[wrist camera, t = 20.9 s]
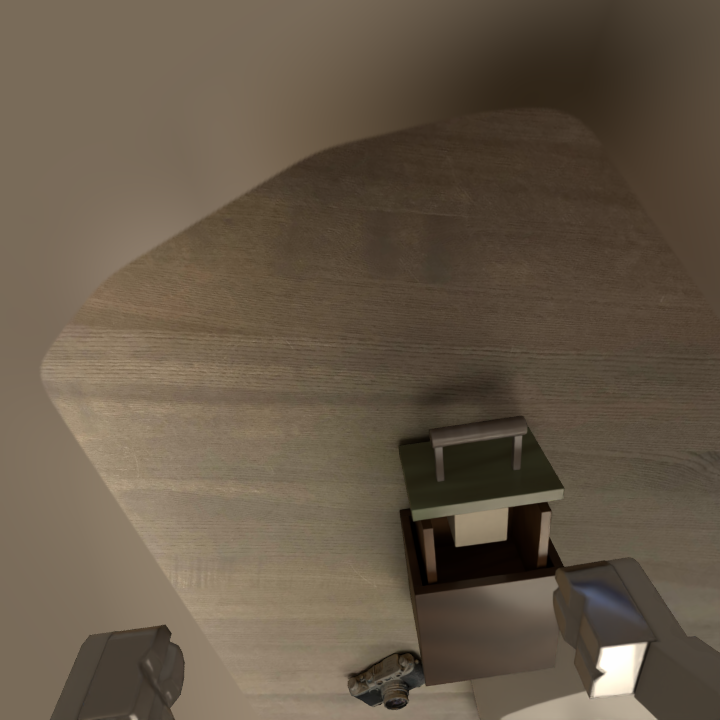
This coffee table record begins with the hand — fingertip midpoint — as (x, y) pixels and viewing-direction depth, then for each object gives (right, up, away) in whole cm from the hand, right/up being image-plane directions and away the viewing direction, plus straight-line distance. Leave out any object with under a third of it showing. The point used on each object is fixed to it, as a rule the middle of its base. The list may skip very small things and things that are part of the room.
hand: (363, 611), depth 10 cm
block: (+10, -6, +34) cm, 35 cm away
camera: (+3, -34, +52) cm, 63 cm away
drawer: (+9, -5, +34) cm, 36 cm away
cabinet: (+11, -15, +41) cm, 45 cm away
